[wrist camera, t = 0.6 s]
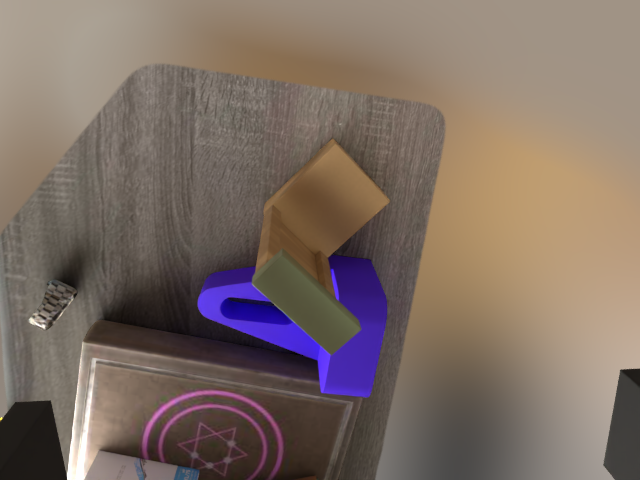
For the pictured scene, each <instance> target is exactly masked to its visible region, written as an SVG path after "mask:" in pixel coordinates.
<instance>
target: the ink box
mask: <svg viewBox="0 0 640 480" xmlns="http://www.w3.org/2000/svg"><path fill="white" fill-rule="evenodd" d="M198 476H199V470H198V469H193V468H188V467H182V466H177V465H172V464H167V463H161V462H156V461H151V460H146V459H141V458H136V457H130V456H125V455H120V454H115V453H110V452H104V451H98V453H97V455H96V457H95V459H94V461H93V463H92V465H91V467H90V469H89V471H88V472H87V474H86V476H85V478H84V479H83V480H198Z"/></svg>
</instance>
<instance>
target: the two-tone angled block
mask: <svg viewBox="0 0 640 480" xmlns="http://www.w3.org/2000/svg"><path fill="white" fill-rule="evenodd" d="M389 202H390V200H389V199H388V197H387V196H386V195H385V193H384V192H383V191H382V190H381V189H380V187H379V186H378V185H377V184H376V183H375V182H374V181H373V180H372V179H371V178H370V177H369V176H368V175H367V174H366V173H365V171H364V170H363V169H362V168H361V167H360V166H359V165H358V164H357V163H356V162H355V161H354V160H353V159H352V158H351V157H350V156H349V154H348V153H347V152H346V151H345V150H344V149H343V148H342V147H341V146H340V145H339V144H338V143H337V142H336V141H335V140H334V138H332V139H331V140H330V141H329V142H328V143H327V144H326V145H325V146H324V147H323V148H322V149H321V150H320V151H319V152H318V153H317V154H316V155H315V156H314V157H313V158H312V159H310V160H309V161H308V162H307V163H306V164H305V165H304V166H303V167H302V168H301V169H300V170H299V171H298V172H297V173H296V174H295V175H294V176H293V177H292V178H291V179H290V180H289V181H288V182H287V183H286V184H285V185H283V186H282V187H281V188H280V189H279V190H278V191H277V192H276V193H275V194H274V195H273V196H272V197H271V198H270V199H269V200H268V201H267V202H266V203H265V206H264V212H263V214H264V220H263V226H262V232H261V238H260V245H259V251H258V257H257V264H256V270H255V274H254V275H253V278H252V285H253V286H254V287H256V288H257V289H258V290H259V291H260V292H261V293H262V294H263V295H264V296H266V297H267V298H268V299H269V300H270V301H271V302H272V303H273V304H274V305H276V306H277V307H278V308H279V309H280V310H281V311H282V312H283V313H284V314H285V315H287V316H288V317H289V318H290V319H291V320H292V321H293V322H294V323H295V324H297V325H298V326H299V327H300V328H301V329H302V330H303V331H304V332H305V333H307V334H308V335H309V336H310V337H311V338H312V339H313V340H314V341H315V342H317V343H318V344H319V345H320V346H321V347H322V348H323V349H324V350H325V351H327V352H328V353H329V354H330V355H333V354H334V353H335V352H336V351H337V350H338V349H340V348H341V347H342V346H343V345H344V344H345V343H347V342H348V341H349V340H350V339H351V338H352V337H354V336H355V335H356V334H357V333H358V332H359V331H361V326H360V322H359V320H358V319H357V318H356V317H355V316H354V315H353V314H352V313H351V312H350V311H349V310H348V309H347V308H346V307H345V306H344V305H343V304H341V303H340V302H339V301H338V300H337V299H336V296H335V291H334V286H333V281H332V276H331V271H330V266H329V261H328V257H329V256H331V255H332V254H333V253H334V252H335V251H336V250H337V249H338V248H339V247H340V246H342V245H343V244H344V243H345V242H346V241H347V240H348V239H349V238H350V237H351V236H353V235H354V234H355V233H356V232H357V231H358V230H359V229H360V228H361V227H362V226H364V225H365V224H366V223H367V222H368V221H369V220H370V219H371V218H372V217H373V216H375V215H376V214H377V213H378V212H379V211H380V210H381V209H382V208H383V207H384V206H386V205H387V204H388V203H389Z"/></svg>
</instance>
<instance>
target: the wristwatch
mask: <svg viewBox="0 0 640 480" xmlns="http://www.w3.org/2000/svg"><path fill="white" fill-rule="evenodd" d="M47 285H49V287H48V290H47V291H46V293H45V297H44V299H43V301H42V304H41V305H40V306H39V307H38V309H37V310H36V311H35V312H34V314H33V316H32V317H31V318H30V319H29V320H28V321H29V322H30V323H31V324H33V325H35V326H37V327H39V328H40V329H42V330H47V329H49V328H50V327H51V326H52V325H53V324H54V323H55V322H56V321H57V320H58V319H59V317H60V316H61V314H62V313H63V312H64V310H65V309H66V308H67V307H68V306H69V304H70V303H71V301H72V300H73V299H74V298H75V297H76V295H77V290H76V289H74V288H72V287H70V286H68V285H66V284H64V283H62V282H60V281H57V280H55V279H53V280H52V281H51V282H50V281H49V282H48V284H47Z"/></svg>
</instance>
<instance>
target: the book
mask: <svg viewBox="0 0 640 480" xmlns="http://www.w3.org/2000/svg"><path fill="white" fill-rule="evenodd" d="M362 400H363V397H358V396H348V395H337V394H327V393H321V389H320V379H319V369H318V361H317V360H314V359H312V358H309V357H304V356H298V355H293V354H287V353H282V352H276V351H271V350H265V349H260V348H254V347H248V346H243V345H237V344H232V343H226V342H221V341H215V340H210V339H204V338H199V337H193V336H187V335H182V334H176V333H171V332H165V331H160V330H154V329H149V328H143V327H138V326H132V325H126V324H121V323H115V322H110V321H104V320H98V321H96V322H95V323H94V324H93V325H92V326H91V328H90V329H89V331H88V333H87V334H86V336H85V338H84V340H83V343H82V352H81V361H80V369H79V378H78V387H77V396H76V405H75V413H74V422H73V431H72V440H71V449H70V457H69V466H68V475H67V480H83V479H84V478H85V476H86V474H87V472H88V471H89V469H90V467H91V465H92V463H93V461H94V459H95V457H96V455H97V453H98V451H104V452H110V453H115V454H120V455H125V456H130V457H136V458H141V459H146V460H151V461H156V462H161V463H167V464H172V465H177V466H182V467H188V468H193V469H198V470H199V476H198V480H295V479H299V478H304V477H309V476H314V475H316V478H317V479H318V480H338V478H339V475H340V472H341V469H342V465H343V462H344V459H345V456H346V452H347V449H348V446H349V443H350V439H351V436H352V433H353V430H354V426H355V423H356V420H357V417H358V413H359V410H360V407H361V404H362Z"/></svg>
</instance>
